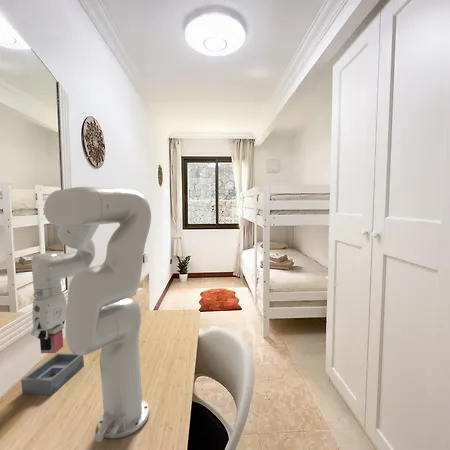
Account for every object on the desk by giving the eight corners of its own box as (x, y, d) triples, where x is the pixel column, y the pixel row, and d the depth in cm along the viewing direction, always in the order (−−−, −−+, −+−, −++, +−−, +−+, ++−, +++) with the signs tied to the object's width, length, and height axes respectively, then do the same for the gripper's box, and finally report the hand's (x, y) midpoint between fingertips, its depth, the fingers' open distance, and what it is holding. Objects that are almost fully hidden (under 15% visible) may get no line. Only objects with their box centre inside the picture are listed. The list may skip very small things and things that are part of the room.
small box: (40, 353, 86) (38, 330, 85) (49, 346, 90) (47, 324, 90) (55, 353, 86) (53, 329, 85) (64, 346, 90) (62, 324, 90)
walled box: (52, 395, 80) (50, 380, 80) (22, 393, 82) (21, 379, 81) (84, 365, 95) (83, 353, 95) (58, 365, 96) (57, 353, 96)
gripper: (37, 300, 78) (42, 360, 79) (76, 284, 95) (79, 333, 96) (14, 300, 79) (19, 359, 80) (56, 284, 96) (60, 333, 97)
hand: (52, 345), depth 88 cm, fingers closed on small box, 4 cm apart
